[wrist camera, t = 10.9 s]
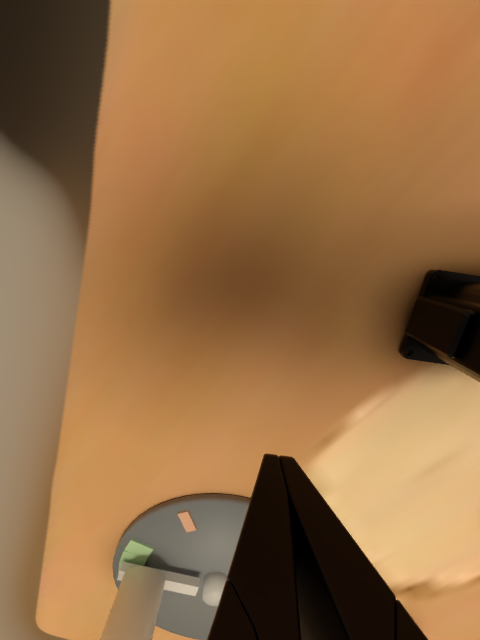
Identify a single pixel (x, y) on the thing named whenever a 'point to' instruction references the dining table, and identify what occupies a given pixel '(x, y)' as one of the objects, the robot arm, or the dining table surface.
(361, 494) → the dining table surface
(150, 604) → the tall cream cylinder
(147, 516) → the grey round platter
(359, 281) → the dining table surface
